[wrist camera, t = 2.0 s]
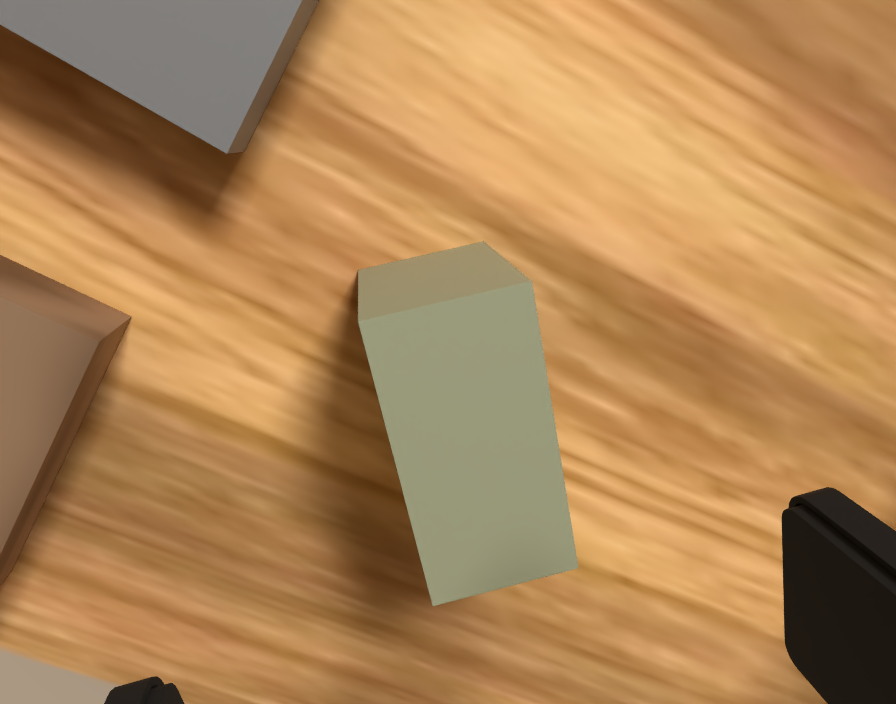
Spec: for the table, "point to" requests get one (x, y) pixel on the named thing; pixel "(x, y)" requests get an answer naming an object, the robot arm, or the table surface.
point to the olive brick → (468, 418)
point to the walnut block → (43, 388)
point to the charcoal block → (175, 54)
